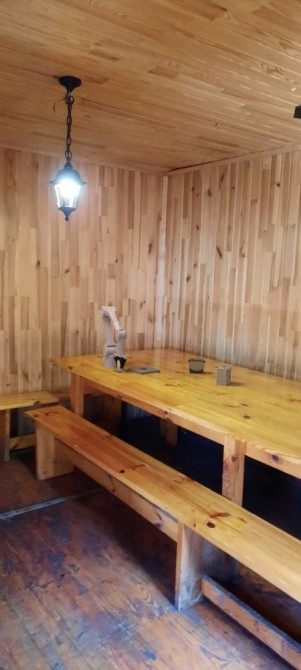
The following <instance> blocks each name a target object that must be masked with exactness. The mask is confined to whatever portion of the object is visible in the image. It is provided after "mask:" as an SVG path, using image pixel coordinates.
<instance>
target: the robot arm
mask: <svg viewBox="0 0 301 670" xmlns="http://www.w3.org/2000/svg"><path fill="white" fill-rule="evenodd" d="M100 316H101V319H102V320H103V327H104V328H103V329H104V333H105V340H106V342H105V343H104V345H103V346H102V350H103V351H102V353H103V358H102V367H104V368H106V369H117V360H118V359H119V361H120V369H123V370H124V368H125V365H126V362H127V361H128V359H129V358H128V355H127V354H125V352H126V339H127V336H128V334H127V333H128V332H127V330H126V329H124V328H123V326H122V323H121V322H120V321H119V320H118V317H117V307H116V306H115V305H113V306H110V305H109V306H105V305H102V306H101V308H100ZM112 327H113V329H112ZM113 330H114V333H115V334H114V335H113ZM114 337H115V341H114Z"/></svg>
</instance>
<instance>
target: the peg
mask: <svg viewBox="0 0 301 670" xmlns="http://www.w3.org/2000/svg"><path fill="white" fill-rule="evenodd" d="M116 370H118V371H122V370H124V368H123V369H120V361H119V359H118V360H117V366H116Z"/></svg>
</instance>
